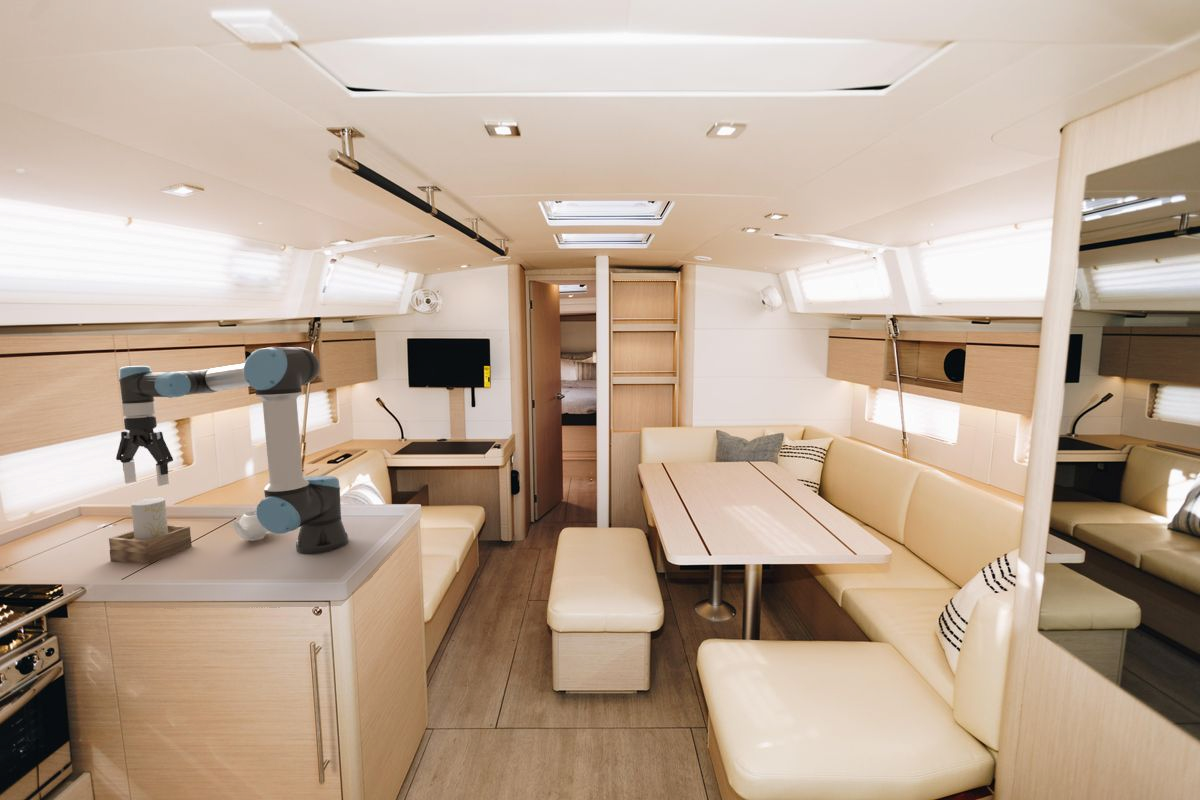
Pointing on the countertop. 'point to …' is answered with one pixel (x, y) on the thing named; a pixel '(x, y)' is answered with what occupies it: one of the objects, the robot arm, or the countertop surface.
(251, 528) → the teapot
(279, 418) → the robot arm
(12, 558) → the countertop surface
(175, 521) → the countertop surface
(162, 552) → the tower base
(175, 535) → the wooden tray
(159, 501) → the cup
